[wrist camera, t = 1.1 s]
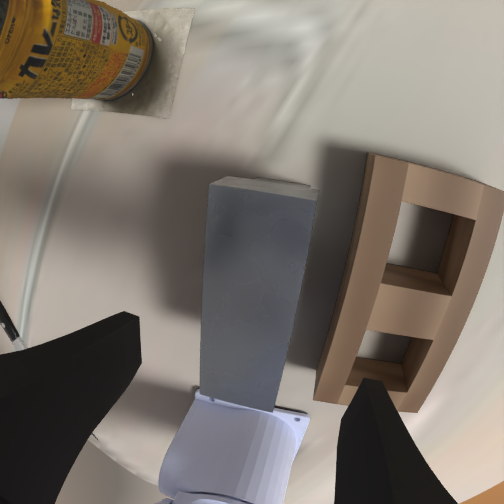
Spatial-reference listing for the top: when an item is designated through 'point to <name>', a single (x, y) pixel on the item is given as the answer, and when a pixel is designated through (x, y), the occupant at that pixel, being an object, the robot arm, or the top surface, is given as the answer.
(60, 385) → the robot arm
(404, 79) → the top surface
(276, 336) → the tall grey block
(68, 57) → the condiment
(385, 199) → the brown slotted tray
